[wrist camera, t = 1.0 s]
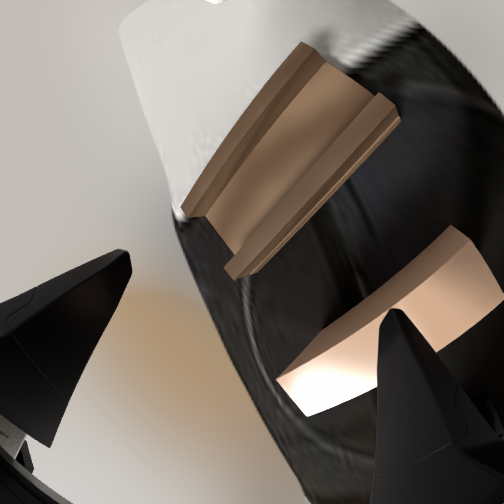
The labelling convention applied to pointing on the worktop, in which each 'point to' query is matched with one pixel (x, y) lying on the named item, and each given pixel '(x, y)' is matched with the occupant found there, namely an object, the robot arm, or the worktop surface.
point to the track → (287, 157)
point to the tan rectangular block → (375, 309)
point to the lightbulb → (215, 1)
